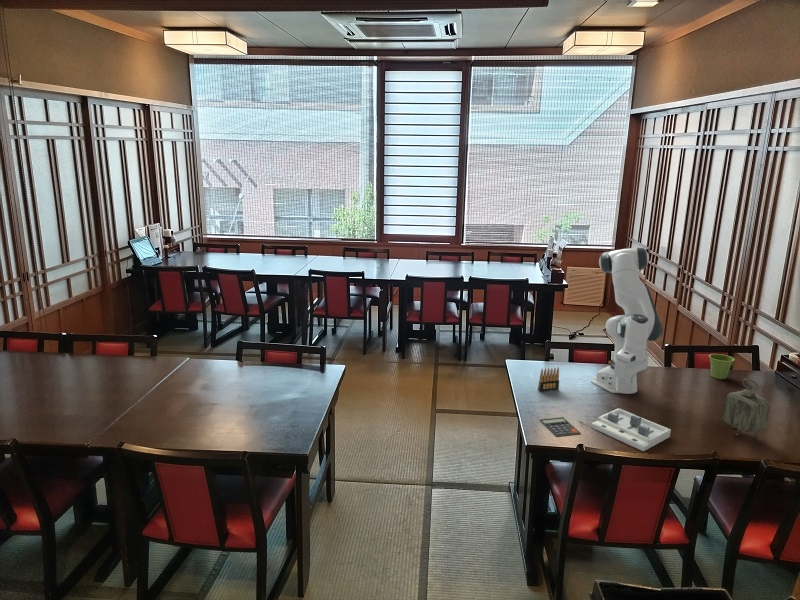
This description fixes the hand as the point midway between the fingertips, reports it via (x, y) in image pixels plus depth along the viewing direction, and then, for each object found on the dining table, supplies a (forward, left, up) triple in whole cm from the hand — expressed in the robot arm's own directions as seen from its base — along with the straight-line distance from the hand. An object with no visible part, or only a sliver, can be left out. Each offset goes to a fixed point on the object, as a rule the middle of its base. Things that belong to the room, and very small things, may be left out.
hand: (629, 382), depth 229 cm
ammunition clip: (-42, 0, -19) cm, 46 cm away
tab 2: (+6, -3, -17) cm, 18 cm away
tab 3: (+13, -8, -17) cm, 23 cm away
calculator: (-14, -27, -20) cm, 36 cm away
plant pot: (-1, +90, -19) cm, 92 cm away
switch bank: (+6, -6, -19) cm, 21 cm away
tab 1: (-1, -8, -17) cm, 19 cm away
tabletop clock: (+34, +31, -19) cm, 50 cm away
